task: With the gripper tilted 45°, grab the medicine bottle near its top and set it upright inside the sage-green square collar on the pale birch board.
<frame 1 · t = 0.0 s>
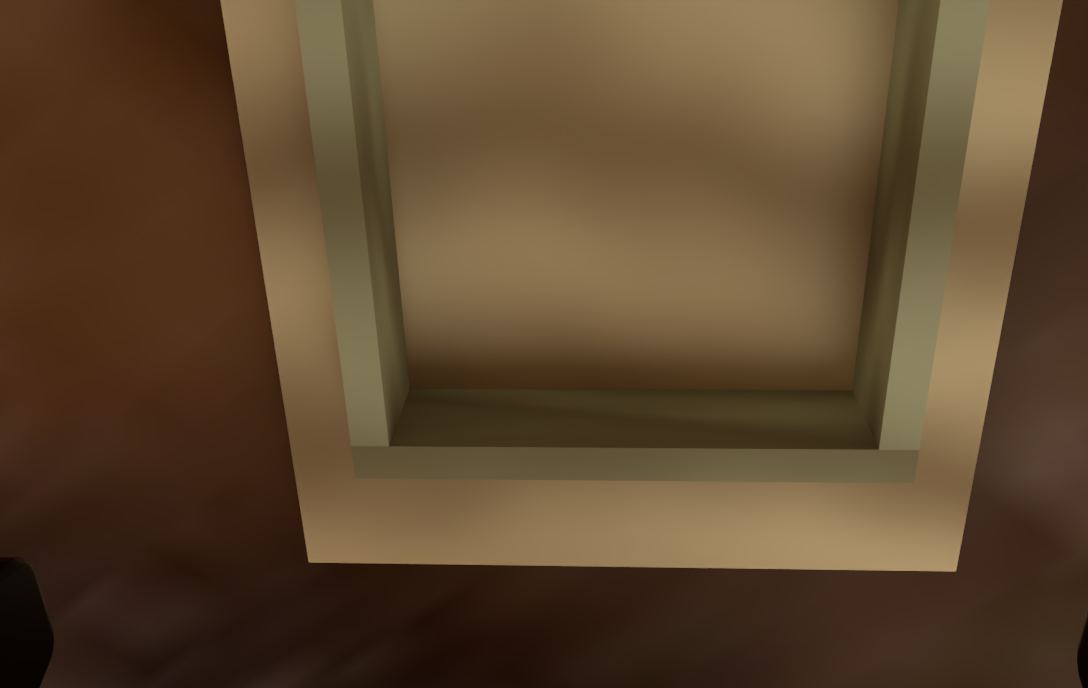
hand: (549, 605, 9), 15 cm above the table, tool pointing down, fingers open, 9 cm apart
holder board: (629, 161, 22), on the table
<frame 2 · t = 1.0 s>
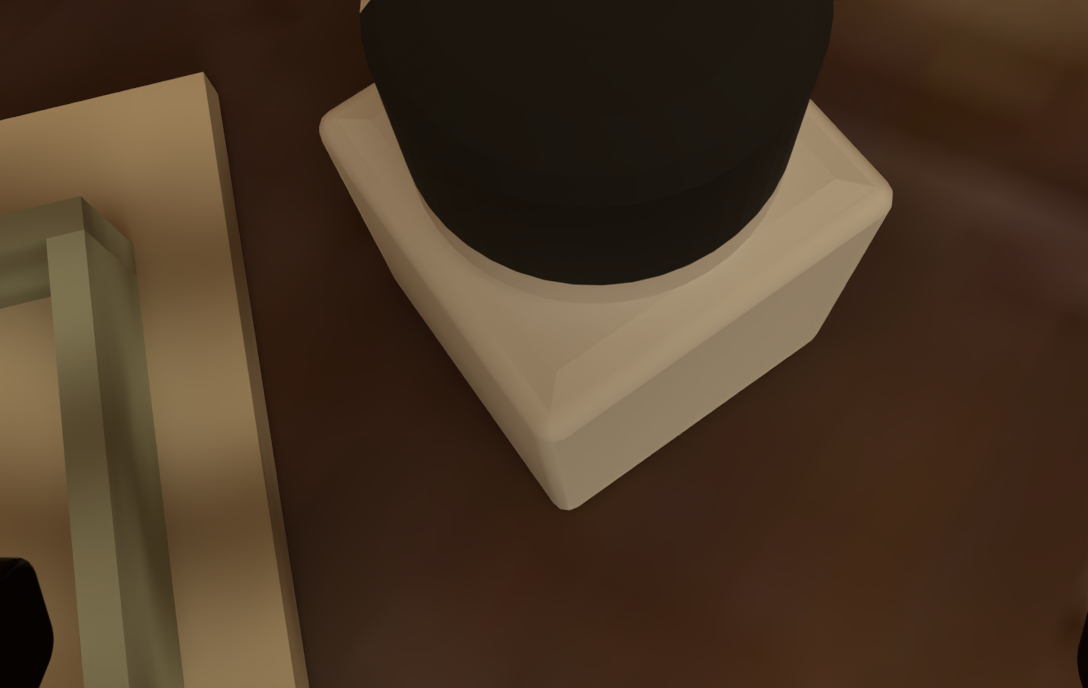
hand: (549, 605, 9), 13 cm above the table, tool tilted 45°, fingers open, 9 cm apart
medicine bottle: (600, 307, 24), on the table
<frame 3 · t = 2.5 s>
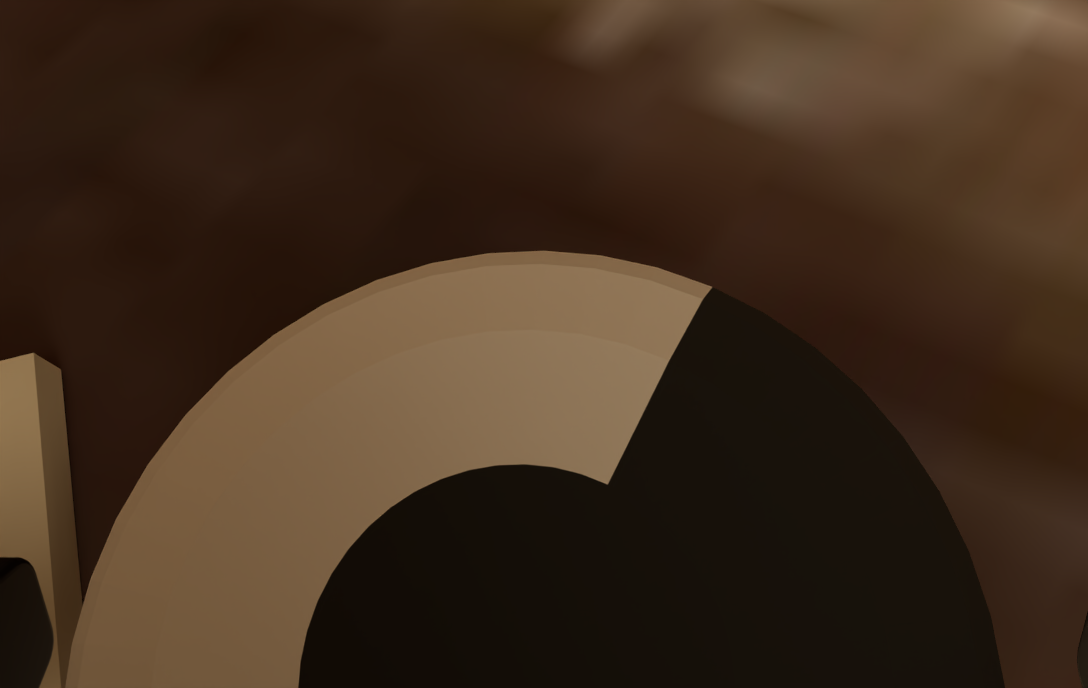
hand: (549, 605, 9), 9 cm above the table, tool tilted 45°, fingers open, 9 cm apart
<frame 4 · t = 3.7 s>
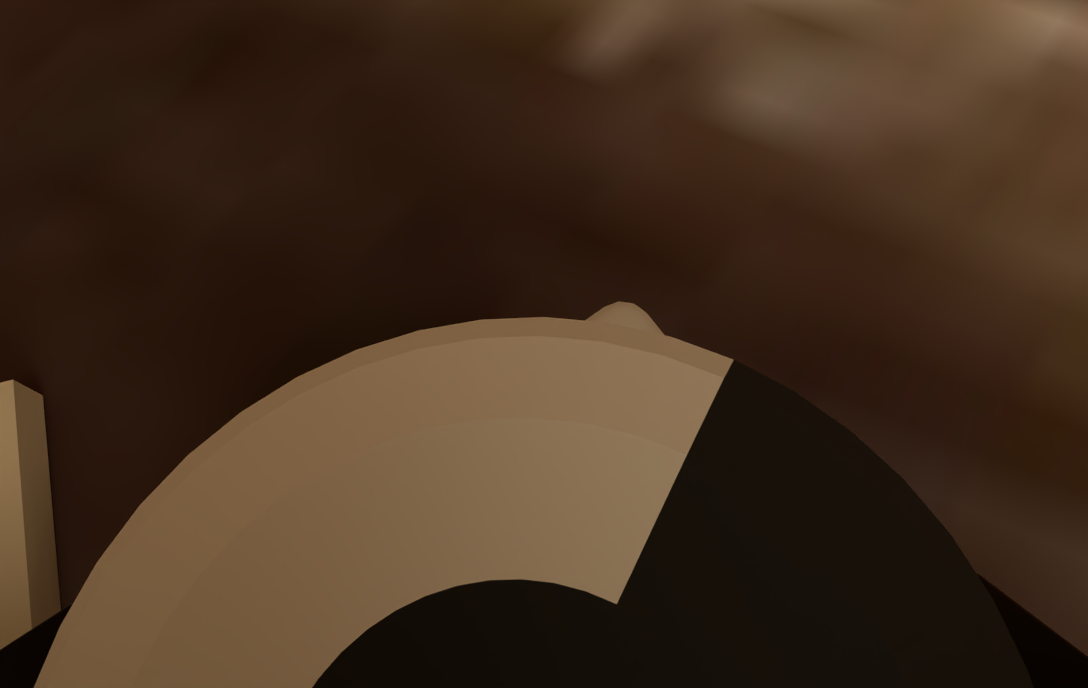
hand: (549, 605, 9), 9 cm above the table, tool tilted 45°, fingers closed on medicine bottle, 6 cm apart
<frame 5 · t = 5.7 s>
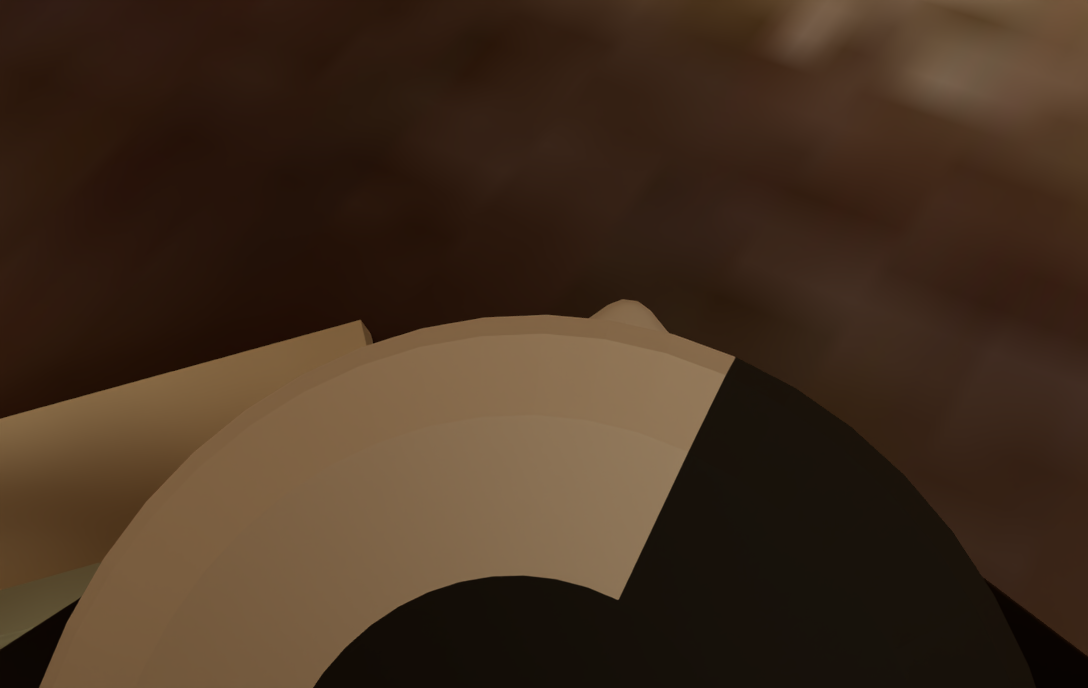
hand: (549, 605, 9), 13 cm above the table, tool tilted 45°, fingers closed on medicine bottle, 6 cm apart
when the fingers open (10 cm above the table, at t = 8.0 s): medicine bottle stays where it is, resting on holder board.
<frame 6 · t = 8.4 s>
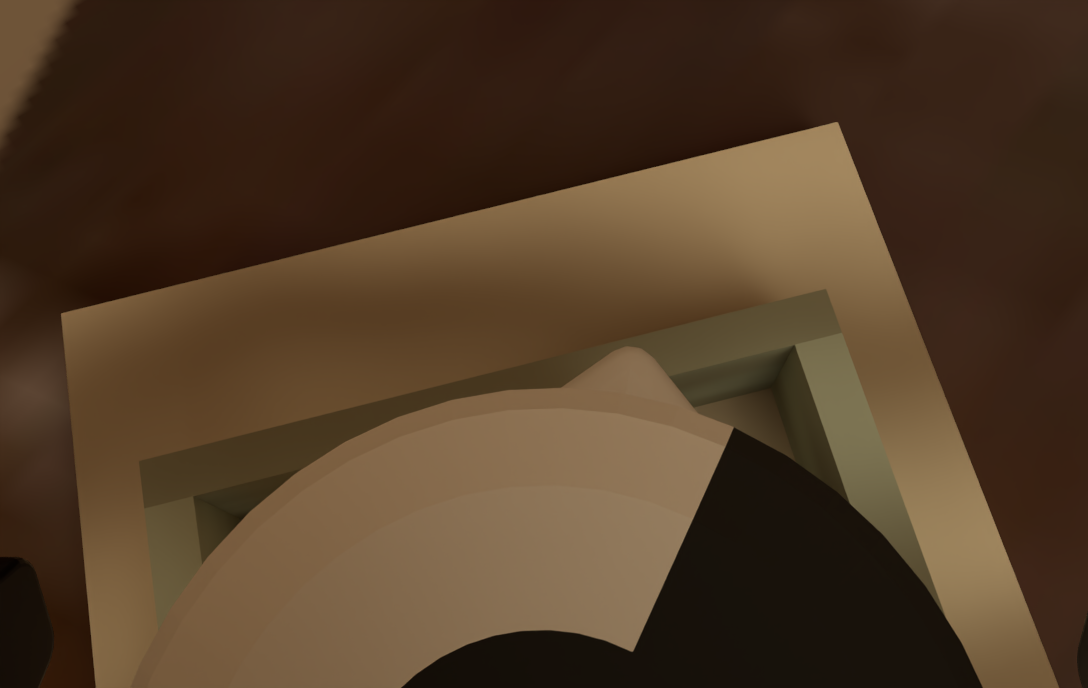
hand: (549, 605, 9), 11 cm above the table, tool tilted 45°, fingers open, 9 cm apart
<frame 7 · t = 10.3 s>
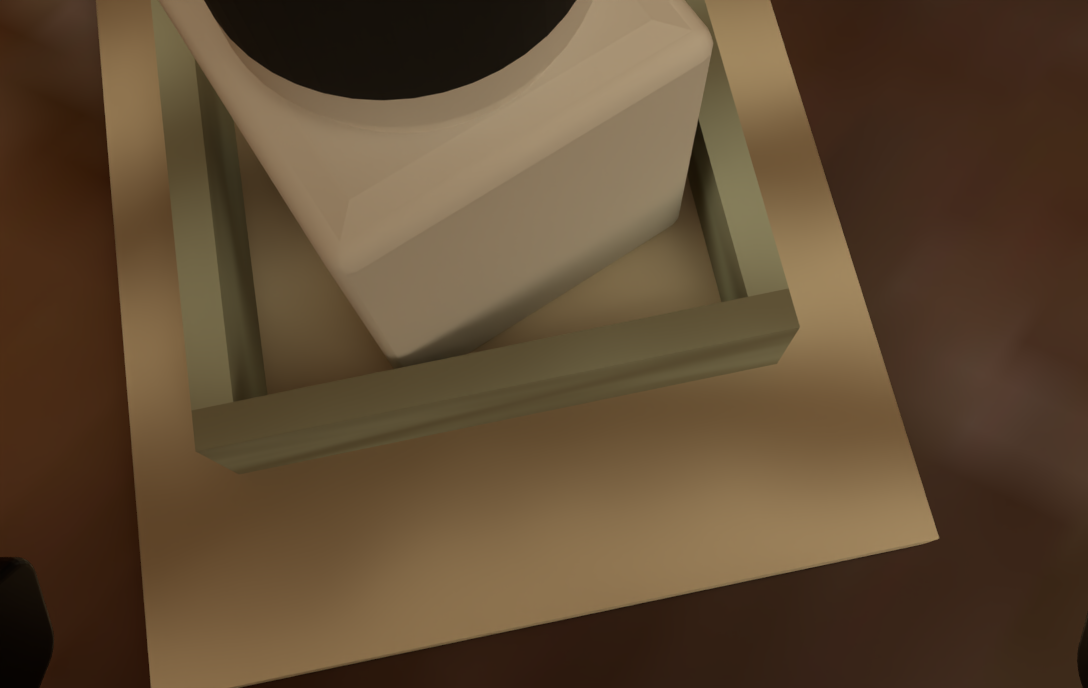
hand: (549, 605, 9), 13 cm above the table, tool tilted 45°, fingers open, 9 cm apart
medicine bottle: (466, 188, 24), point 1 cm above the table, touching holder board
holder board: (466, 194, 24), on the table
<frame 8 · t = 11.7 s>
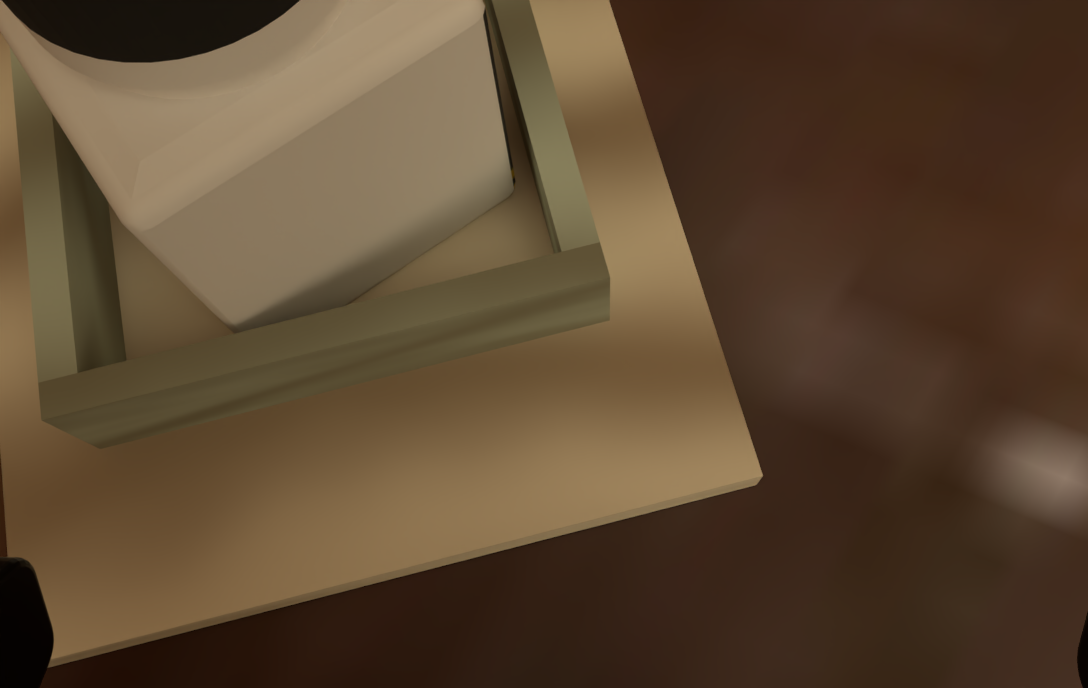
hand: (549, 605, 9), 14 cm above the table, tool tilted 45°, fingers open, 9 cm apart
medicine bottle: (318, 172, 25), point 1 cm above the table, touching holder board
holder board: (323, 180, 26), on the table
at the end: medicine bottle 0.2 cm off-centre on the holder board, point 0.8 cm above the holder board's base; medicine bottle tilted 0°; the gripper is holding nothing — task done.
